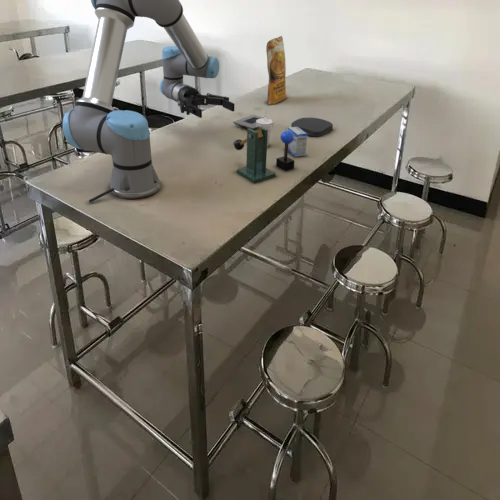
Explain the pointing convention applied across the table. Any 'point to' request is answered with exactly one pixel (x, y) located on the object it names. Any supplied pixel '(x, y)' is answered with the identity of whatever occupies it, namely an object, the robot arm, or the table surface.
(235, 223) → the table surface
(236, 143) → the switch lever
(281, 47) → the pancake mix bag
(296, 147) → the medicine box
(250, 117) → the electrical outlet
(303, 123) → the media streaming box
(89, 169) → the table surface
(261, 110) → the table surface
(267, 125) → the smoothie
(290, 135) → the blue knob joystick
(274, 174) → the switch bracket
